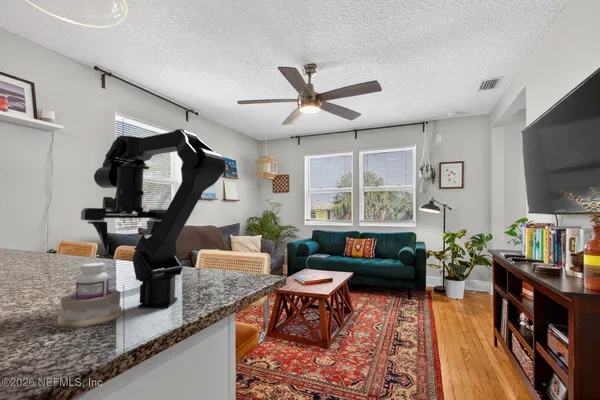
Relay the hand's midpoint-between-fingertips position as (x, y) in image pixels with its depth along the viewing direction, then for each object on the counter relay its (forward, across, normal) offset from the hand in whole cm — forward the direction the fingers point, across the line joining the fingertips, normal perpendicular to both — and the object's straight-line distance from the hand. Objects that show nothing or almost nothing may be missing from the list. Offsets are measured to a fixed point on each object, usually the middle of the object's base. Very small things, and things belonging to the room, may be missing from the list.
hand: (127, 249), depth 72 cm
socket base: (+12, +9, +11) cm, 18 cm away
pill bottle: (+11, +9, +11) cm, 18 cm away
